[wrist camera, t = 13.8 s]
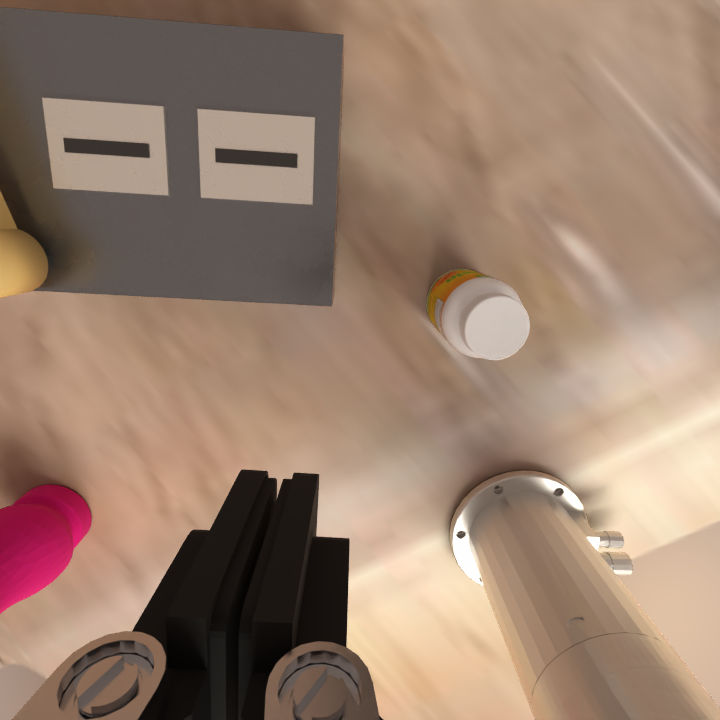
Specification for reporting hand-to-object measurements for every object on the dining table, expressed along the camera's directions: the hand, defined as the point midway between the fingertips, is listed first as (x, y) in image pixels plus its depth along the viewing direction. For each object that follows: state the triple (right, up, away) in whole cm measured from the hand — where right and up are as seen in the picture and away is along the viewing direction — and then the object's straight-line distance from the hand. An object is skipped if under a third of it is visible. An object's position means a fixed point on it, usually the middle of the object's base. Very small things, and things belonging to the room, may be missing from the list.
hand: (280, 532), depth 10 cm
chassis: (-11, +17, +23) cm, 31 cm away
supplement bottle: (+10, +8, +27) cm, 29 cm away
